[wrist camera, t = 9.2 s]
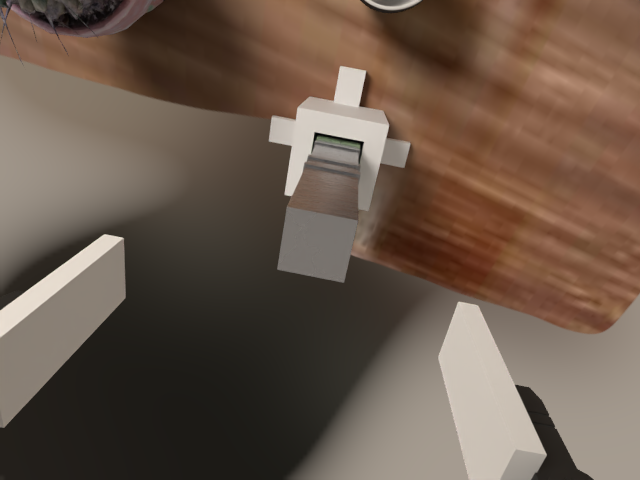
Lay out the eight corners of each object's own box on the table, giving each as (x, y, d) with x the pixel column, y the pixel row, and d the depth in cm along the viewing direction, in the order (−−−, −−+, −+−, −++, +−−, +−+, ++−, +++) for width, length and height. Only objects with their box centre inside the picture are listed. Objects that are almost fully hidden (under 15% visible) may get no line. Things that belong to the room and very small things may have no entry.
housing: (281, 54, 50) (262, 54, 40) (425, 82, 50) (442, 90, 39) (263, 191, 57) (243, 222, 47) (389, 216, 56) (396, 252, 46)
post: (320, 130, 45) (284, 203, 23) (360, 138, 45) (361, 218, 23) (313, 169, 47) (274, 271, 25) (351, 176, 47) (345, 285, 25)
